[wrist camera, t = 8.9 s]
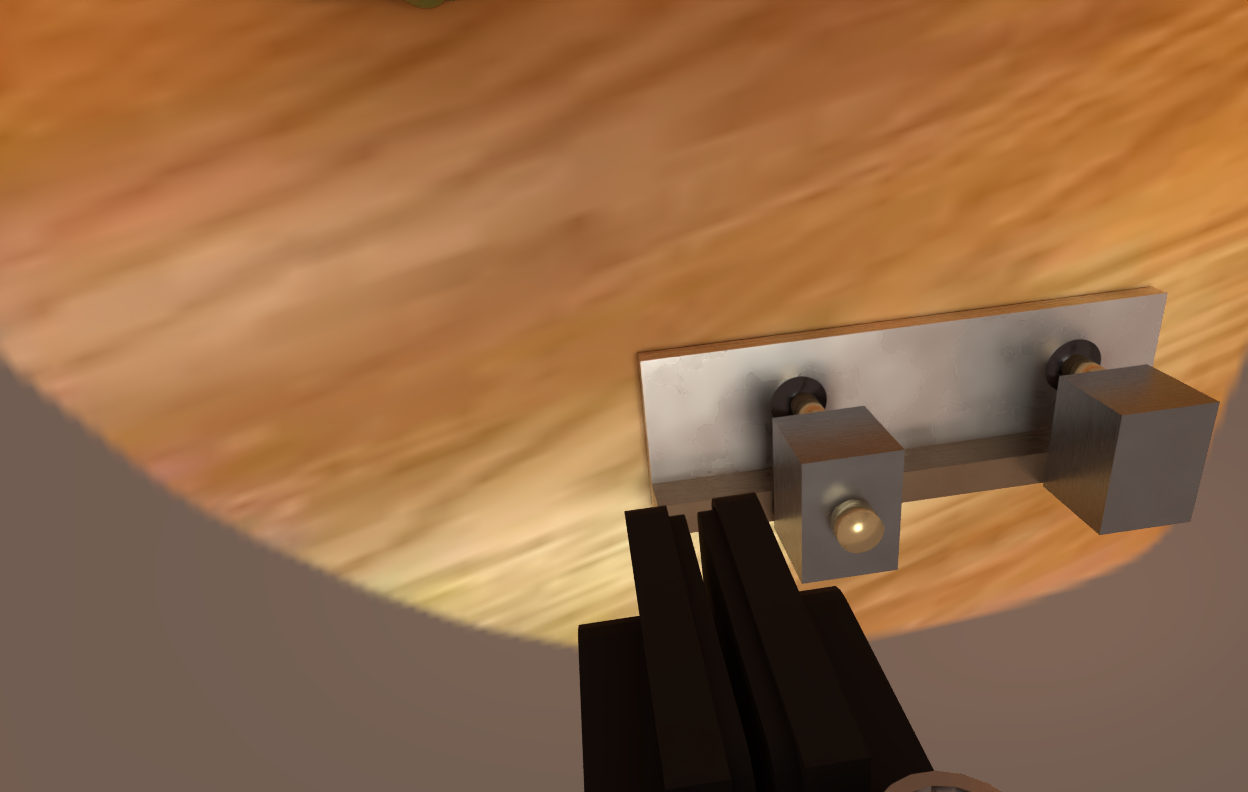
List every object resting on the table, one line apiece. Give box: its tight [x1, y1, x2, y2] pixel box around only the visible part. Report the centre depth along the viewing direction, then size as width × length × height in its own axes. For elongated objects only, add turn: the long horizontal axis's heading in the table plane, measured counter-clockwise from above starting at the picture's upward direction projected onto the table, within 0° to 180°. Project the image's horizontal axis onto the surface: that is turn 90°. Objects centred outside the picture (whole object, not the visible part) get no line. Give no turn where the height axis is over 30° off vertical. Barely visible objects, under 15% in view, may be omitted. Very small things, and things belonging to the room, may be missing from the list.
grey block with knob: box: [772, 393, 905, 584], centre depth 33 cm, size 4×6×7 cm
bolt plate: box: [637, 287, 1220, 535], centre depth 34 cm, size 24×8×7 cm, turn 96°
